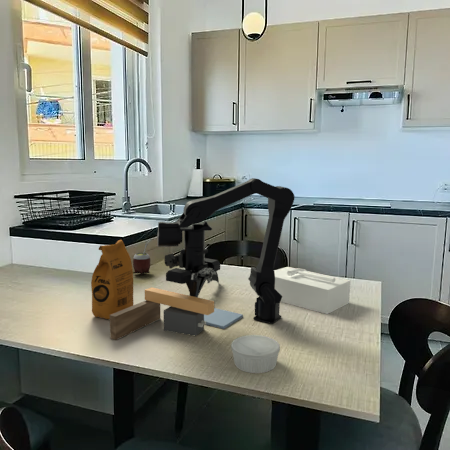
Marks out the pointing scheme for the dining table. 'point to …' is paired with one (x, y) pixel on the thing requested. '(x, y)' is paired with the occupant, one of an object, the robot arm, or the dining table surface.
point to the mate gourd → (141, 262)
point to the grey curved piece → (211, 275)
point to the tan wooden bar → (180, 301)
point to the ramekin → (255, 353)
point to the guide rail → (133, 318)
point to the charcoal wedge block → (183, 321)
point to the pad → (221, 318)
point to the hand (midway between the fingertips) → (194, 299)
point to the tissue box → (311, 289)
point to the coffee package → (112, 281)
